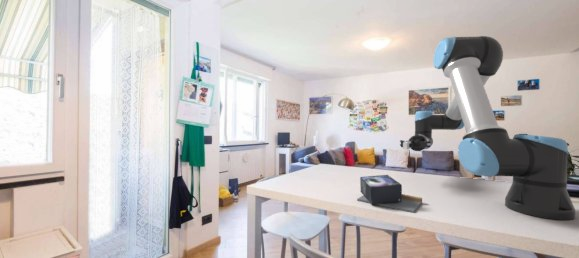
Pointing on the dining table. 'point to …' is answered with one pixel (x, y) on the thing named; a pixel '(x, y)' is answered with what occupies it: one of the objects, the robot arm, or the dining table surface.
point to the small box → (381, 189)
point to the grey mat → (400, 203)
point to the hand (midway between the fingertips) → (405, 145)
